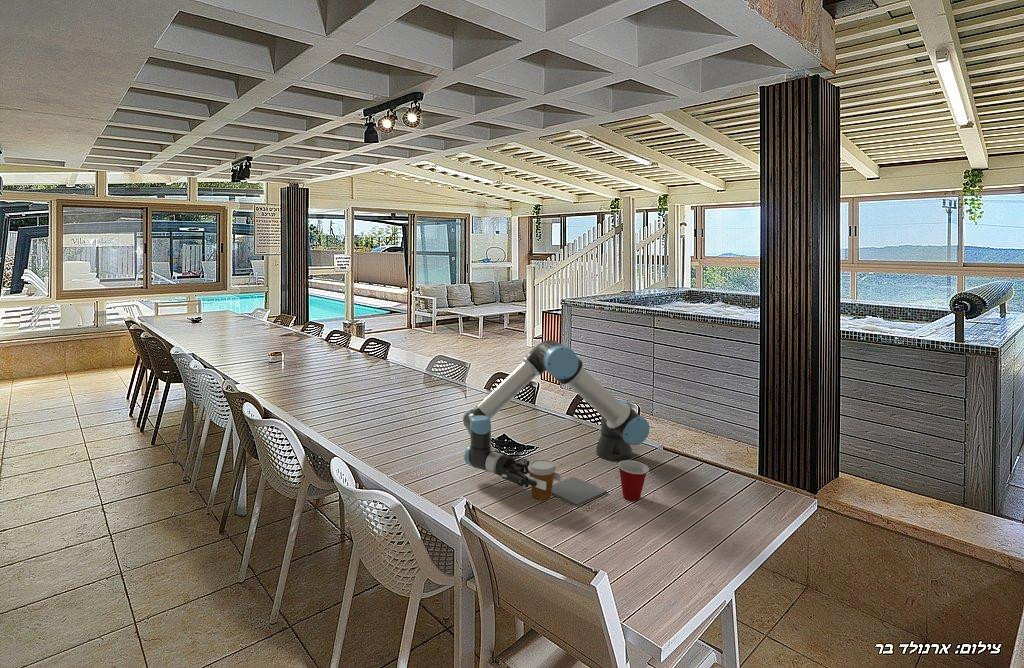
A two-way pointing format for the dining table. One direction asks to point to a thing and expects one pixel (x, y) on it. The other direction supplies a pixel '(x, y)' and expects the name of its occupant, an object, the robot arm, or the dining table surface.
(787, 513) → the dining table surface
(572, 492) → the slate board
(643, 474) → the plastic cup
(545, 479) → the disposable coffee cup
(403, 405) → the dining table surface
